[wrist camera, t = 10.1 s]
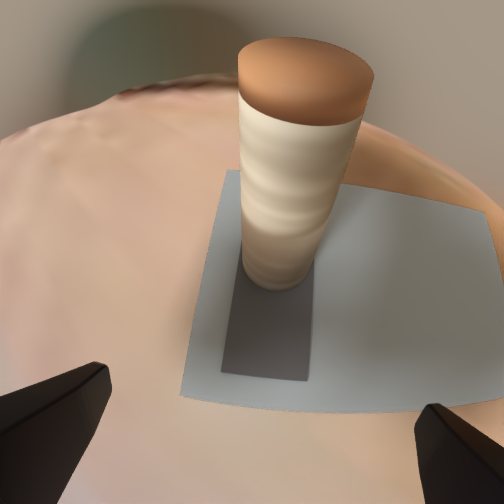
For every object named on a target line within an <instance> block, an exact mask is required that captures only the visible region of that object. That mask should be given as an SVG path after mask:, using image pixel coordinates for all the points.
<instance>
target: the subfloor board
mask: <svg viewBox="0 0 504 504" xmlns="http://www.w3.org/2000/svg"><path fill="white" fill-rule="evenodd" d="M241 241H242V225H241V185H240V171H239V170H227V172H226V176H225V180H224V184H223V189H222V193H221V197H220V201H219V205H218V209H217V214H216V218H215V222H214V227H213V231H212V235H211V240H210V244H209V249H208V253H207V258H206V262H205V267H204V272H203V276H202V281H201V286H200V291H199V296H198V300H197V305H196V310H195V315H194V320H193V326H192V331H191V336H190V341H189V347H188V352H187V357H186V363H185V369H184V374H183V380H182V386H181V392H180V396H183V397H187V398H192V399H198V400H203V401H209V402H215V403H222V404H229V405H236V406H243V407H252V408H261V409H271V410H282V411H296V412H314V413H387V412H405V411H418V410H423V409H424V407H425V406H426V405H427V404H429V403H440V404H442V405H443V406H444V407H454V406H461V405H467V404H473V403H479V402H485V401H490V400H495V399H500V398H504V284H503V279H502V274H501V270H500V266H499V262H498V258H497V254H496V250H495V246H494V243H493V239H492V236H491V232H490V229H489V226H488V223H487V220H486V217H485V214H484V212H481V211H477V210H473V209H469V208H465V207H461V206H457V205H453V204H448V203H444V202H440V201H435V200H431V199H426V198H421V197H416V196H412V195H407V194H402V193H396V192H391V191H386V190H380V189H375V188H369V187H363V186H357V185H351V184H345V183H341V185H340V188H339V191H338V194H337V197H336V200H335V202H334V205H333V208H332V211H331V214H330V216H329V219H328V222H327V225H326V227H325V230H324V233H323V235H322V238H321V241H320V243H319V246H318V249H317V251H316V254H315V257H314V279H313V302H312V320H311V336H310V350H309V363H308V375H307V381H306V382H305V381H291V380H280V379H270V378H261V377H252V376H244V375H236V374H229V373H222V372H221V366H222V360H223V353H224V347H225V340H226V334H227V328H228V321H229V315H230V309H231V303H232V296H233V290H234V284H235V278H236V272H237V265H238V259H239V253H240V247H241Z"/></svg>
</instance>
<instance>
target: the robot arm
mask: <svg viewBox="0 0 504 504" xmlns="http://www.w3.org/2000/svg"><path fill="white" fill-rule="evenodd" d="M111 392H112V384H111V379H110V373H109V368H108V366H107V365H105V364H102V363H99V362H91V363H89V364H86V365H83V366H81V367H78V368H76V369H73V370H71V371H68V372H65V373H63V374H60V375H58V376H55V377H52V378H50V379H47V380H44V381H42V382H39V383H36V384H34V385H31V386H28V387H25V388H23V389H20V390H17V391H14V392H11V393H9V394H6V395H3V396H0V504H57V503H58V501H59V499H60V497H61V495H62V493H63V491H64V489H65V487H66V485H67V484H68V482H69V480H70V478H71V476H72V474H73V472H74V470H75V469H76V467H77V465H78V463H79V461H80V459H81V458H82V456H83V454H84V452H85V450H86V448H87V447H88V445H89V443H90V441H91V439H92V437H93V436H94V434H95V431H96V429H97V427H98V424H99V422H100V419H101V417H102V414H103V412H104V410H105V407H106V405H107V403H108V400H109V398H110V396H111ZM414 433H415V441H416V449H417V457H418V467H419V473H420V479H421V484H422V489H423V494H424V499H425V504H504V447H502V446H501V445H499V444H498V443H496V442H495V441H493V440H492V439H490V438H489V437H488V436H486V435H485V434H483V433H482V432H480V431H479V430H477V429H476V428H475V427H473V426H472V425H470V424H469V423H467V422H466V421H464V420H463V419H462V418H460V417H459V416H457V415H456V414H454V413H453V412H452V411H450V410H449V409H447V408H446V407H444V406H443V405H442V404H440V403H429V404H427V405H426V406H425V407H424V409H423V411H422V412H421V414H420V416H419V418H418V420H417V421H416V423H415V427H414Z"/></svg>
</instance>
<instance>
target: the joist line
mask: <svg viewBox="0 0 504 504" xmlns="http://www.w3.org/2000/svg"><path fill="white" fill-rule="evenodd" d="M313 279H314V259H313V262H312V264H311V267H310V270H309V272H308V274H307V276H306V278H305V279H304V280H303V281H302V282H301V283H300V284H299V285H298V286H296V287H294V288H292V289H289V290H286V291H270V290H266V289H263V288H261V287H259V286H257V285H256V284H255V283H253V282H252V281H251V280H250V279H249V277H248V276H247V274H246V273H245V270H244V268H243V261H242V241H241V247H240V253H239V259H238V265H237V272H236V278H235V284H234V290H233V296H232V303H231V309H230V315H229V321H228V328H227V334H226V340H225V347H224V353H223V360H222V366H221V372H222V373H229V374H236V375H244V376H252V377H261V378H270V379H280V380H291V381H305V382H306V381H307V375H308V363H309V350H310V336H311V320H312V302H313Z"/></svg>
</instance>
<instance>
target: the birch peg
mask: <svg viewBox="0 0 504 504" xmlns="http://www.w3.org/2000/svg"><path fill="white" fill-rule="evenodd" d="M238 71H239V72H238V76H239V137H240V185H241V225H242V261H243V268H244V270H245V273H246V274H247V276H248V277H249V279H250V280H251V281H252V282H253V283H255V284H256V285H257V286H259V287H261V288H263V289H266V290H270V291H286V290H289V289H292V288H294V287H296V286H298V285H299V284H300V283H301V282H302V281H303V280H304V279H305V278H306V276H307V274H308V272H309V270H310V267H311V264H312V262H313V259H314V257H315V254H316V251H317V249H318V246H319V243H320V241H321V238H322V235H323V233H324V230H325V227H326V225H327V222H328V219H329V216H330V214H331V211H332V208H333V205H334V202H335V200H336V197H337V194H338V191H339V188H340V185H341V182H342V179H343V176H344V173H345V170H346V167H347V164H348V161H349V158H350V155H351V152H352V149H353V146H354V143H355V140H356V137H357V133H358V130H359V127H360V124H361V120H362V117H363V114H364V110H365V107H366V103H367V100H368V97H369V93H370V90H371V86H372V83H373V79H374V74H373V71H372V69H371V67H370V66H369V65H368V64H367V63H366V62H365V61H364V60H362V59H361V58H360V57H358V56H357V55H355V54H354V53H351V52H350V51H348V50H346V49H343V48H341V47H338V46H336V45H333V44H330V43H326V42H322V41H318V40H313V39H307V38H298V37H278V38H269V39H263V40H259V41H256V42H253V43H251V44H249V45H247V46H245V47H244V48H243V49H242V50H241V51H240V53H239V55H238Z"/></svg>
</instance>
